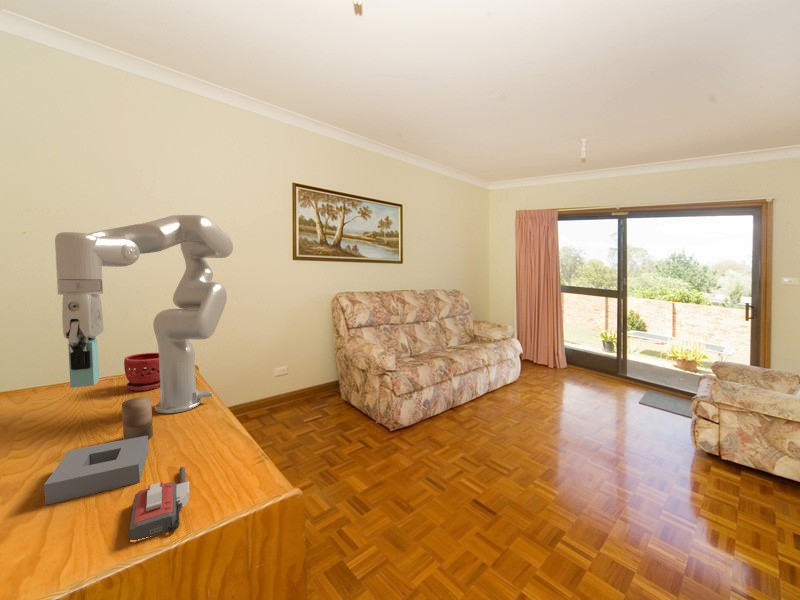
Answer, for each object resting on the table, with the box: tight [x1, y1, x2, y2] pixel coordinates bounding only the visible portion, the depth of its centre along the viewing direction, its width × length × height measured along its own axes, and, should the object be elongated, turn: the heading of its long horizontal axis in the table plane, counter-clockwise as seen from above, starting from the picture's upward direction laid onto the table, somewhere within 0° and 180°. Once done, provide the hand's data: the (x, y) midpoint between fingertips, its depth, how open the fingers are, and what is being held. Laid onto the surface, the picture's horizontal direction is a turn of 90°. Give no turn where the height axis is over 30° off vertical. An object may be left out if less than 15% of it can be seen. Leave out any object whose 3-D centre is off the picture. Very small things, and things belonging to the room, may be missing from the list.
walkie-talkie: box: [128, 466, 191, 540], centre depth 64 cm, size 9×4×20 cm
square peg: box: [67, 339, 100, 389], centre depth 78 cm, size 4×4×10 cm
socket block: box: [43, 435, 149, 506], centre depth 72 cm, size 14×14×4 cm
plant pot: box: [123, 352, 160, 392], centre depth 126 cm, size 13×13×12 cm
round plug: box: [121, 396, 154, 441], centre depth 88 cm, size 6×6×10 cm
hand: (84, 365), depth 78 cm, fingers closed on square peg, 4 cm apart
